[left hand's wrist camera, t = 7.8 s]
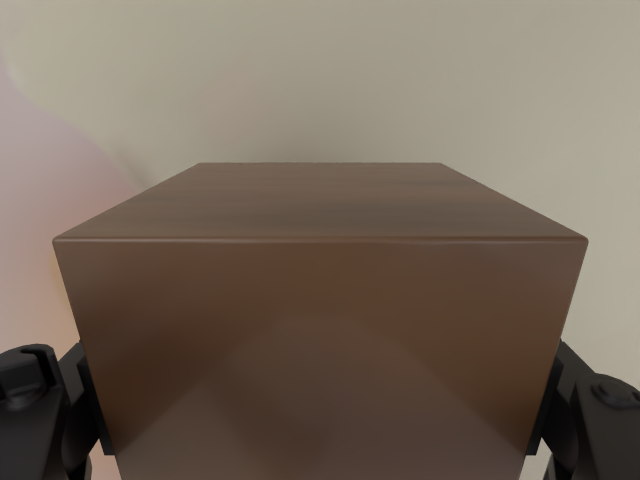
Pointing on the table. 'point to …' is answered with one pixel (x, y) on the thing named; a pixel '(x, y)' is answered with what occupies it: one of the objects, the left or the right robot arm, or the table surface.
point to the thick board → (320, 322)
